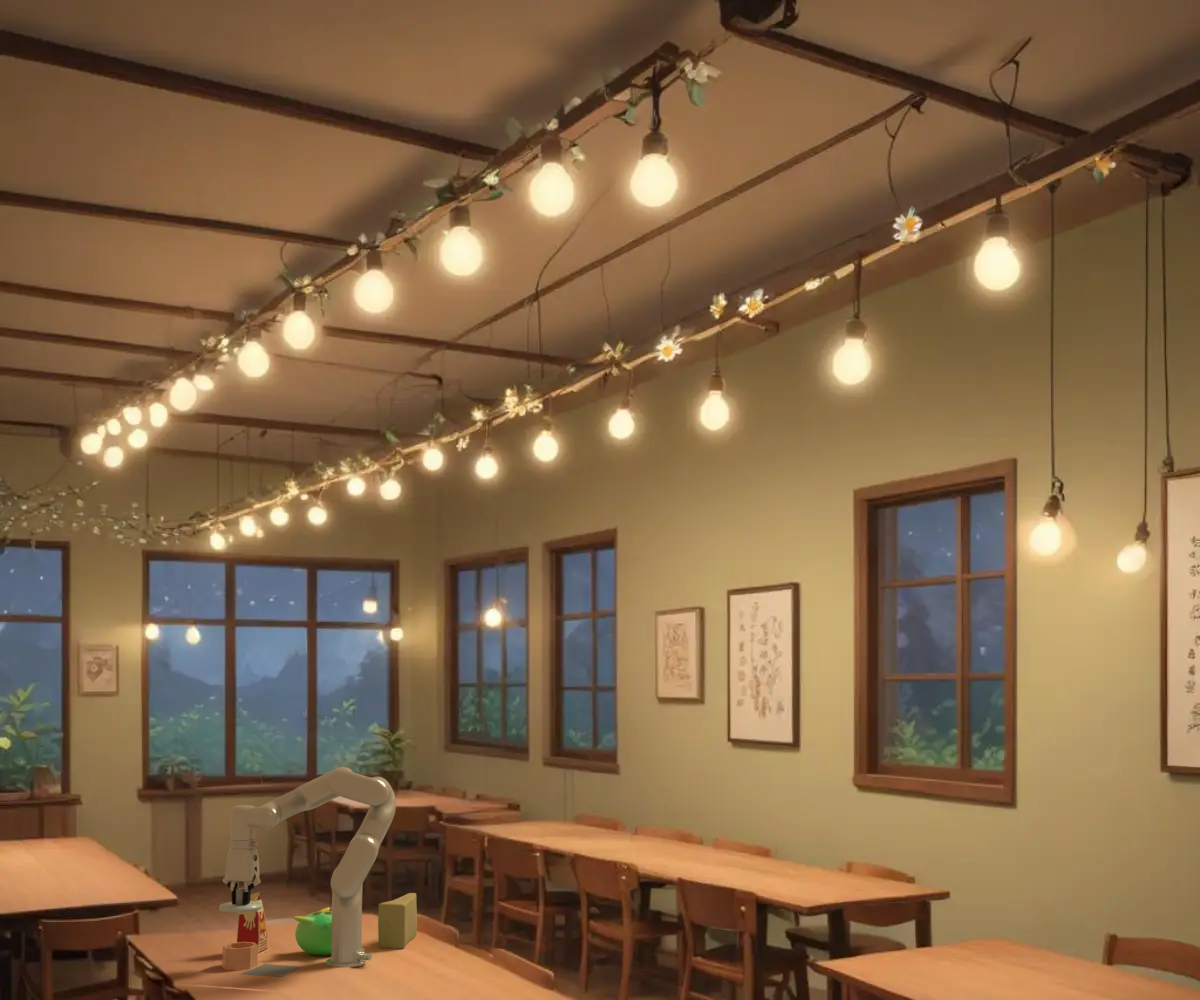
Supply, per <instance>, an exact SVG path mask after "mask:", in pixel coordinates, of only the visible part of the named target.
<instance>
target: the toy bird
mask: <svg viewBox="0 0 1200 1000" xmlns="http://www.w3.org/2000/svg"><path fill="white" fill-rule="evenodd" d="M330 909H331V907H329V906H328V907H324V908H322V909H321V910H318V911H315V912H312V913H309V914H307V915H305V916H302V915H295V916H293V919H294V920H295V921H297V922H298V924H297V926H296V929H295V941H296V943H297V945H298V946H299V948H300V949H301V950H302V951H304V952H305V953H307V954H310V955H314V956H331V925H332V910H331V911H330Z"/></svg>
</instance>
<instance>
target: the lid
mask: <svg viewBox="0 0 1200 1000" xmlns="http://www.w3.org/2000/svg"><path fill="white" fill-rule="evenodd" d="M243 892H245V889H244V887H238V888H236V904H232V901H229V902H223V903H221V904H219V907H218V908H219V909H218V910H219V911H220V912H224V913H232V914H233V913H239V912H250V911H256V910H259V909H261V908H262V905H263V902H262V903H260V902H255V901H250V903H249V904H247V905H243Z"/></svg>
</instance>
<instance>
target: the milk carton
mask: <svg viewBox="0 0 1200 1000" xmlns="http://www.w3.org/2000/svg"><path fill="white" fill-rule="evenodd" d="M250 901H255V902H260V903H262V908H261V909H259V910H256V911H250V912H238V919H237V920H238V922H237V933H236V942H255V943H256V944H257V945H258V952H257V956H259V955H261V954H264V952H265V951H267V950H268V951H269V939H268V930H267V929H268V928H267V920H266V915H265V910H264V906H263V905H264V904H263V901H262V898H261V897H260V891H258V892H256V893H253V894H252V893H251V898H250Z"/></svg>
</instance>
